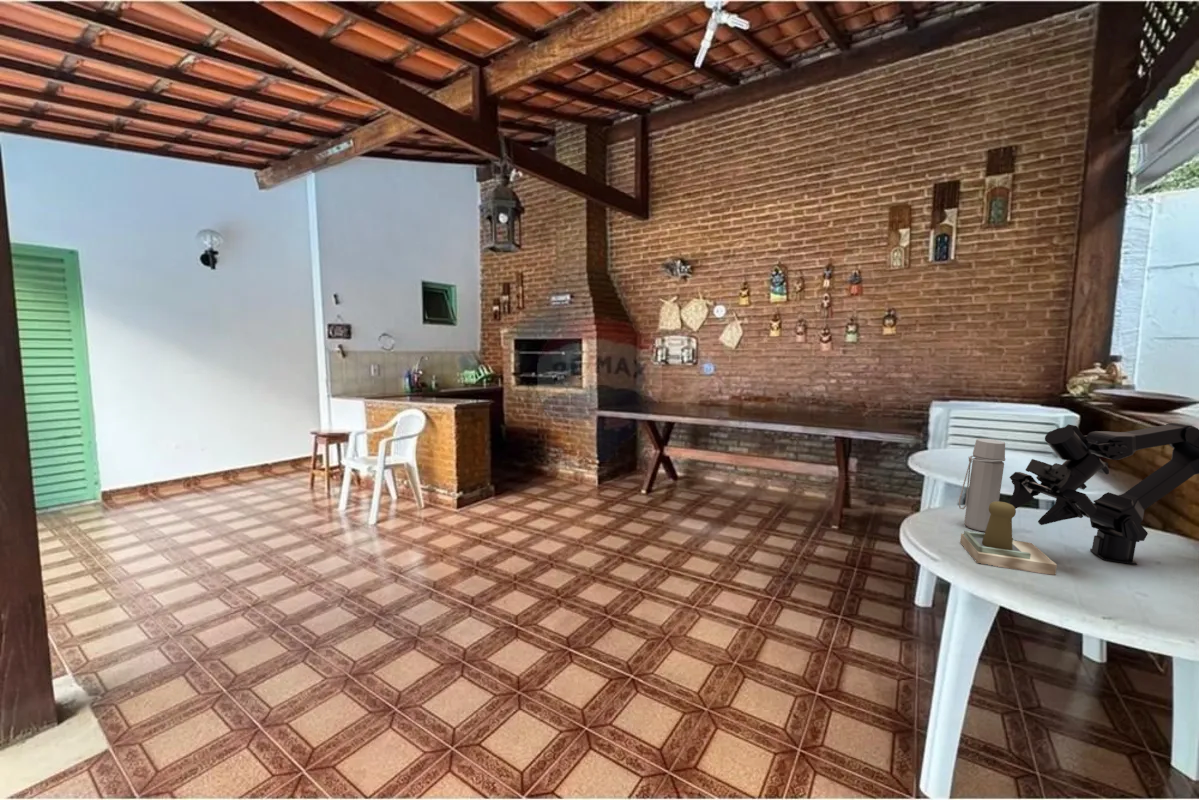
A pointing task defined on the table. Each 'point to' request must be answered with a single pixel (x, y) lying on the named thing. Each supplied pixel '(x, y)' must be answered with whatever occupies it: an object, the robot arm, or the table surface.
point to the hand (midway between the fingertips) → (1023, 516)
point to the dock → (1008, 555)
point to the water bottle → (983, 482)
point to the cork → (999, 526)
